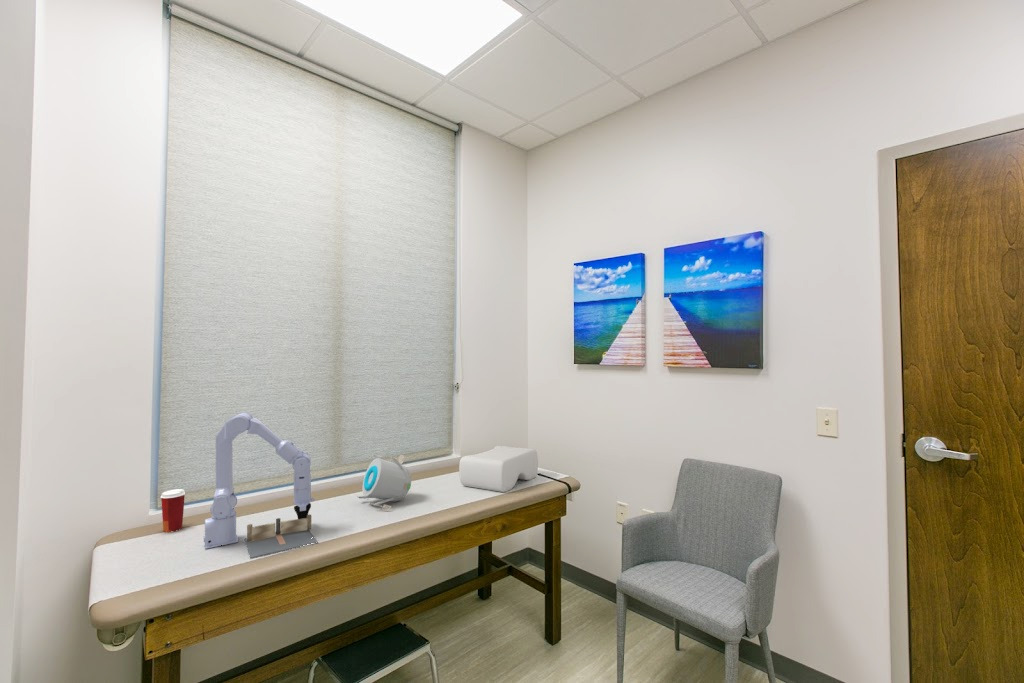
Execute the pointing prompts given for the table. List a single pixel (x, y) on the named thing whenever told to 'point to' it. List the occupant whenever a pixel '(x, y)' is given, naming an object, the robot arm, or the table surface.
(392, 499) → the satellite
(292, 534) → the card
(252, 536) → the fixed fence
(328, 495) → the table surface
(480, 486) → the knee pillow
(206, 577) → the table surface
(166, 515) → the paper cup
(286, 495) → the table surface
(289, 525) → the fence gate
